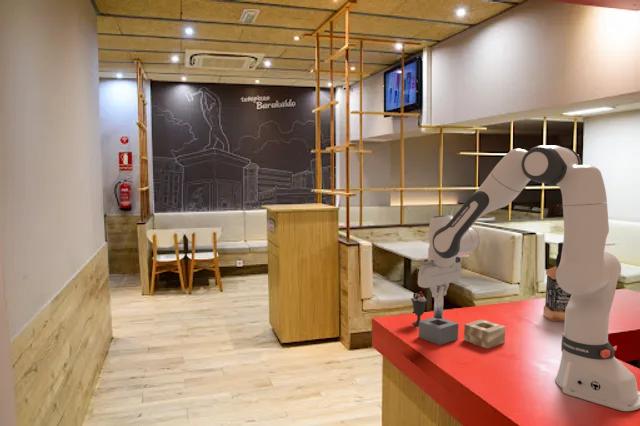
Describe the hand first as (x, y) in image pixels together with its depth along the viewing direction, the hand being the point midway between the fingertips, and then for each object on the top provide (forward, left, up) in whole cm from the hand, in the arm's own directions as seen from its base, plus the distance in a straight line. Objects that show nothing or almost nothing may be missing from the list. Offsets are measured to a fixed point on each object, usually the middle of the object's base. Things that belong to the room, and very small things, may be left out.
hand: (439, 296), depth 175 cm
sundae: (+15, -6, -16) cm, 23 cm away
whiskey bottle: (-14, -60, -16) cm, 64 cm away
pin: (0, 0, -8) cm, 8 cm away
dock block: (0, 0, -16) cm, 16 cm away
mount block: (-12, -11, -16) cm, 23 cm away
